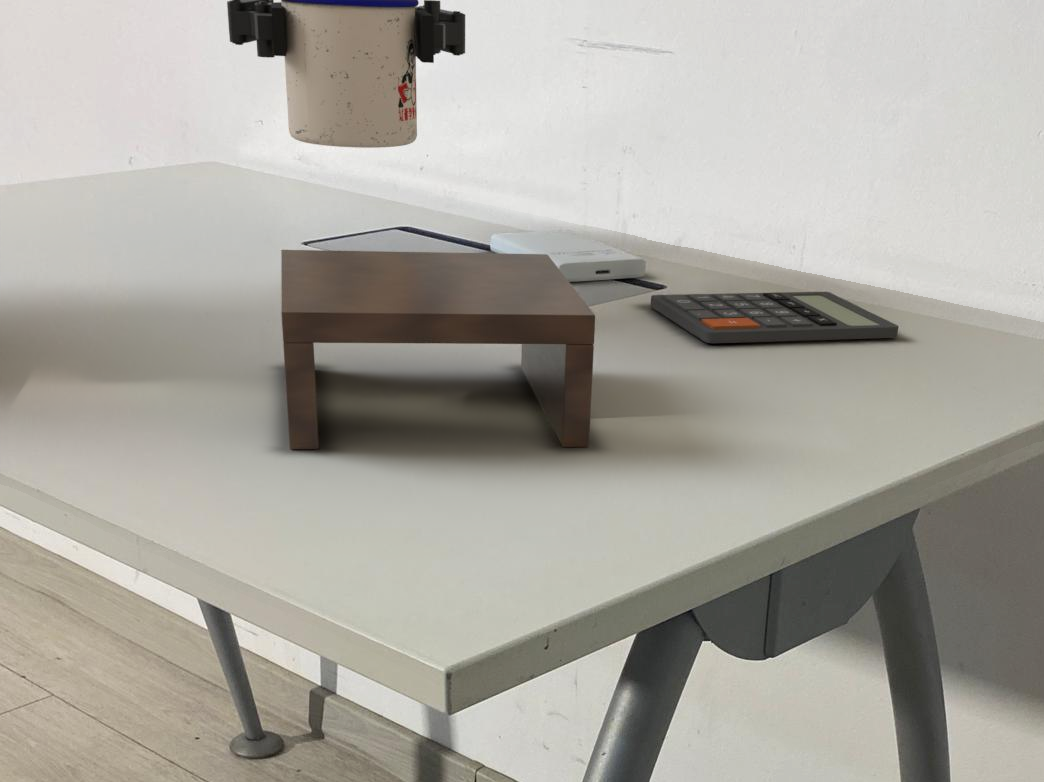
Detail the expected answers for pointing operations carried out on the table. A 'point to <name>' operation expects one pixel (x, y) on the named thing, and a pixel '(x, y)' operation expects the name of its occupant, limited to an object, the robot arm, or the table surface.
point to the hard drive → (572, 254)
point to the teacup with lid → (351, 72)
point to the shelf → (439, 321)
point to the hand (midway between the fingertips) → (354, 35)
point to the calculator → (771, 317)
